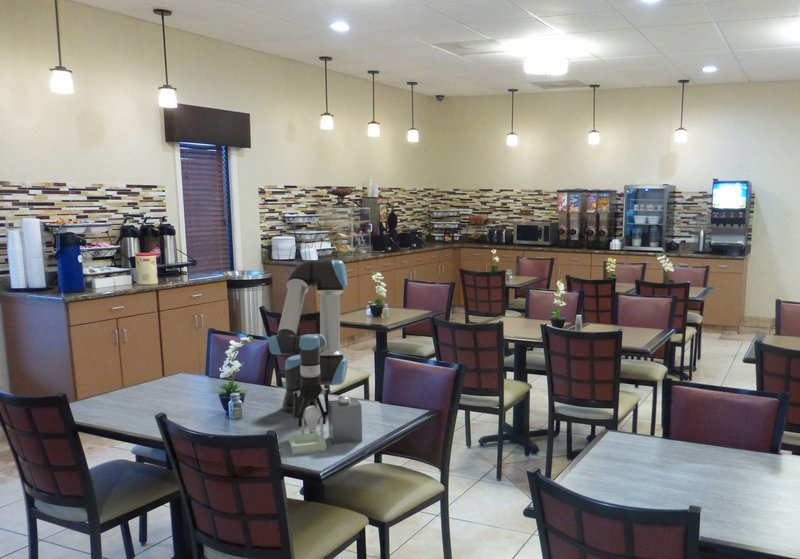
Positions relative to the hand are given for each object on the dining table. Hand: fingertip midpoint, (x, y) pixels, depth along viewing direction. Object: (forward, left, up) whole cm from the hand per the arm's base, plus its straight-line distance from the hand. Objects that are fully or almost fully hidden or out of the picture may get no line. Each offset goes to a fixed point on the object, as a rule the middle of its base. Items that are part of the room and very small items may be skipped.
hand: (312, 433), depth 265 cm
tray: (+14, -4, 0) cm, 14 cm away
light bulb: (0, 0, 0) cm, 1 cm away
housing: (+10, +11, 0) cm, 15 cm away
